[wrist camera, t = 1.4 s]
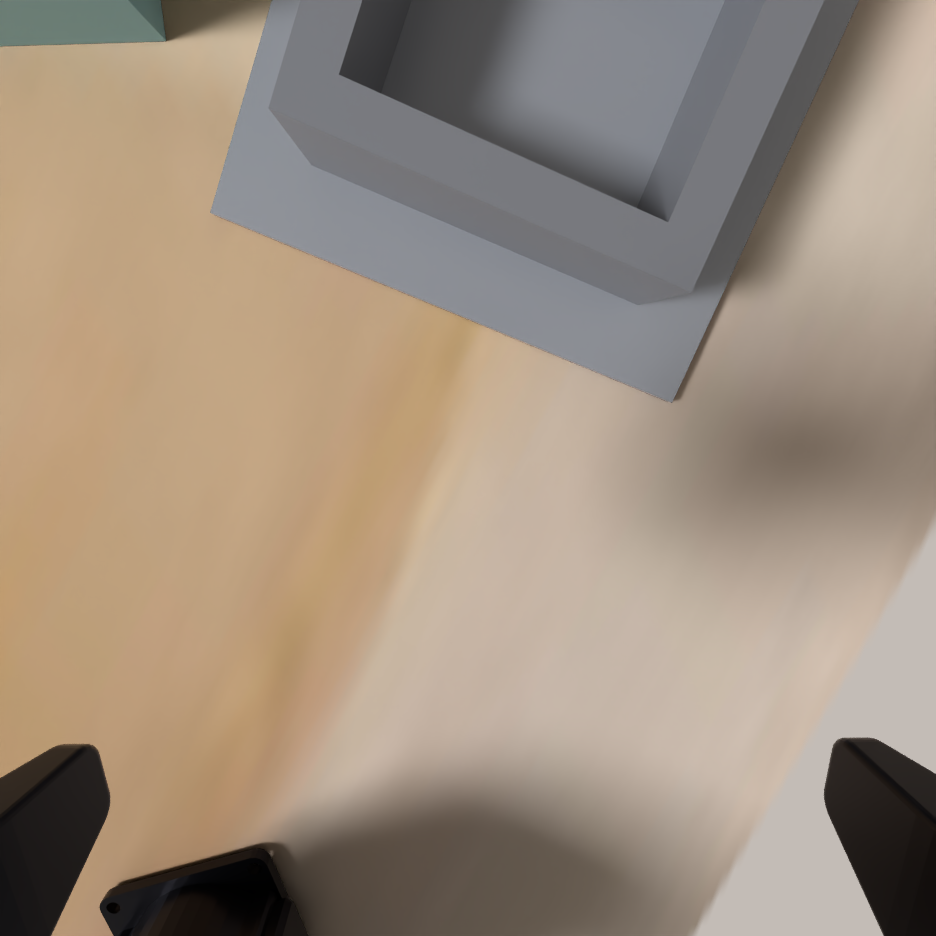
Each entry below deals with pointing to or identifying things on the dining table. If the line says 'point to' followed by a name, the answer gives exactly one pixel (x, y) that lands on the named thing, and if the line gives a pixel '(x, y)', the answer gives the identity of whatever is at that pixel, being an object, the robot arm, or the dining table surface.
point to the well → (532, 157)
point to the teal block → (80, 22)
